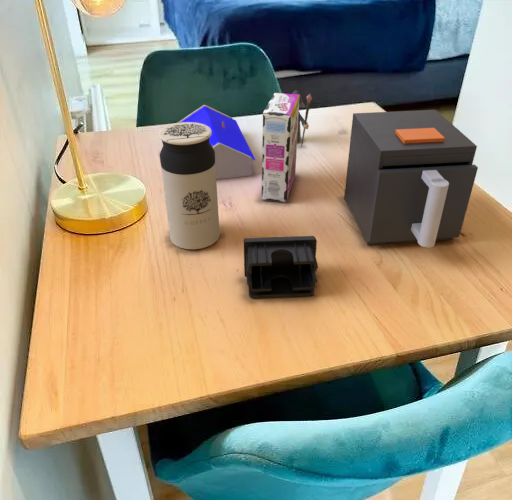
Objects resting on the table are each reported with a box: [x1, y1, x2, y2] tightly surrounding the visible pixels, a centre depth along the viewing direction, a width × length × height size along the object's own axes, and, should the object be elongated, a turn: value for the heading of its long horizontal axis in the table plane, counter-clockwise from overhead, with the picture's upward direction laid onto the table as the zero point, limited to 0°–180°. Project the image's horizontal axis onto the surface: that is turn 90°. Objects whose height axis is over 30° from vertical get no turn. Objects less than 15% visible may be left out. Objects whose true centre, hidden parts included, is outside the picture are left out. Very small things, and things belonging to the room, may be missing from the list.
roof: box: [177, 104, 256, 180], centre depth 105 cm, size 22×14×7 cm, turn 12°
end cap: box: [243, 235, 319, 299], centre depth 70 cm, size 10×7×7 cm
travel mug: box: [158, 122, 221, 250], centre depth 77 cm, size 8×8×18 cm
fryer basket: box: [368, 164, 479, 249], centre depth 79 cm, size 20×14×12 cm
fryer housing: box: [343, 109, 478, 246], centre depth 82 cm, size 15×14×17 cm
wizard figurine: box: [291, 89, 313, 147], centre depth 110 cm, size 8×6×12 cm
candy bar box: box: [261, 92, 301, 203], centre depth 91 cm, size 11×5×16 cm, turn 168°
